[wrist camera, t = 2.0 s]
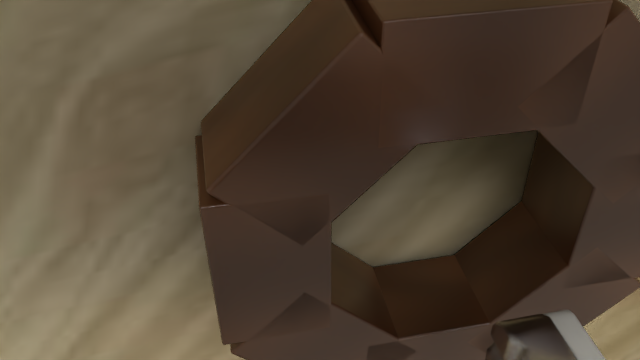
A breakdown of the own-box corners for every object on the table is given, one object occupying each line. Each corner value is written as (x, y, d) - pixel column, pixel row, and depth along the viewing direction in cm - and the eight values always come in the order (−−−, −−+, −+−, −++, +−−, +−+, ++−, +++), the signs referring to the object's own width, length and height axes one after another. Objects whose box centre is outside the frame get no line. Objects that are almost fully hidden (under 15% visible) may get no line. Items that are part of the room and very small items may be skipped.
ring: (170, -17, 12) (170, 39, 10) (691, -58, 13) (786, -15, 11) (229, 348, 18) (236, 426, 16) (570, 292, 20) (615, 357, 18)
